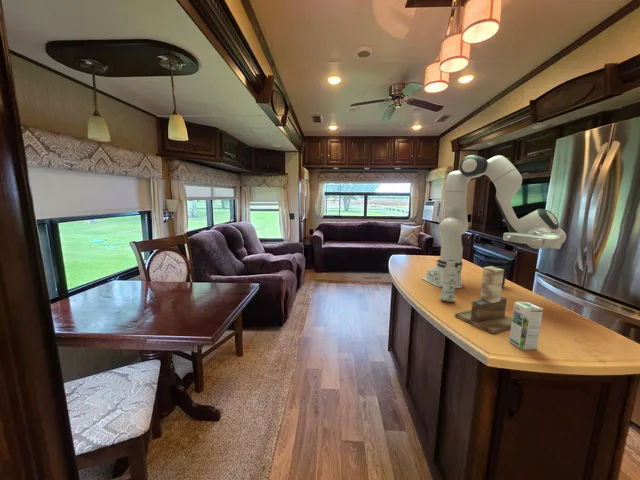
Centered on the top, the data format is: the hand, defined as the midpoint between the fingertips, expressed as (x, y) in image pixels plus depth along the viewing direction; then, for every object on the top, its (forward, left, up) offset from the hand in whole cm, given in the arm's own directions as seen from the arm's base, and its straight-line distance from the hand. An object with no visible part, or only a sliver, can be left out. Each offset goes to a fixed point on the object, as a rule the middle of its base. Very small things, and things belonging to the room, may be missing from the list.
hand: (519, 240), depth 115 cm
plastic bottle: (-20, -15, -32) cm, 41 cm away
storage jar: (-26, +29, -32) cm, 50 cm away
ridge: (+2, -18, -32) cm, 37 cm away
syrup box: (+19, -25, -32) cm, 45 cm away
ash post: (+2, -18, -23) cm, 29 cm away
